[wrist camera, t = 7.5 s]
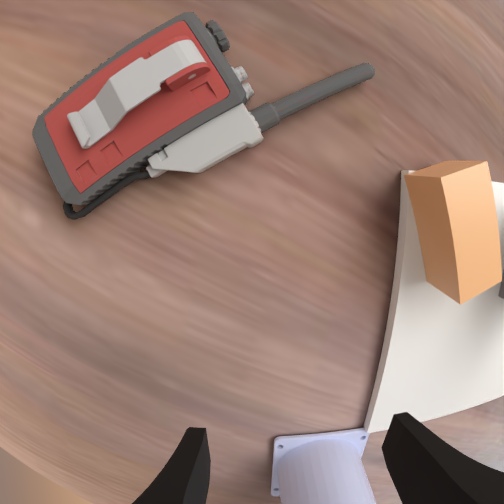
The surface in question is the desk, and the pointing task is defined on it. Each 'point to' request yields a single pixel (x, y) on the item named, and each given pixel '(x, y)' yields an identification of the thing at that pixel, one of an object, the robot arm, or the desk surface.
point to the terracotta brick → (457, 227)
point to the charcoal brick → (502, 287)
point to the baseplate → (436, 338)
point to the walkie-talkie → (160, 113)
